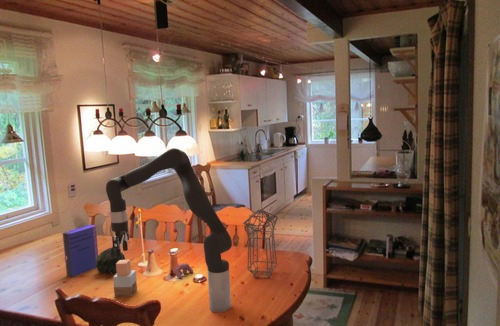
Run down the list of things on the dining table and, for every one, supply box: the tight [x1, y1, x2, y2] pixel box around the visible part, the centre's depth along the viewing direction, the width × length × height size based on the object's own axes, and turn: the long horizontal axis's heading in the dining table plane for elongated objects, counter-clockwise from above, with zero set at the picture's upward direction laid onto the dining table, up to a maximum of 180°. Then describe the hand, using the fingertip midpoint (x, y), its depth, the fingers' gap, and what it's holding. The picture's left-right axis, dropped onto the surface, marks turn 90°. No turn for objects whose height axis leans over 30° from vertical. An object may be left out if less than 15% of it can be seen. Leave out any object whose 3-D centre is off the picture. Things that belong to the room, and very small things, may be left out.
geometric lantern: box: [242, 208, 278, 279], centre depth 209 cm, size 16×16×35 cm
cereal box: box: [62, 224, 99, 278], centre depth 226 cm, size 17×5×24 cm, turn 149°
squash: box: [96, 246, 126, 275], centre depth 223 cm, size 14×15×15 cm
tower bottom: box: [113, 281, 138, 298], centre depth 196 cm, size 8×8×5 cm
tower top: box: [112, 269, 138, 288], centre depth 196 cm, size 8×8×5 cm
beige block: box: [116, 259, 132, 276], centre depth 195 cm, size 5×5×6 cm
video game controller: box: [173, 262, 194, 279], centre depth 216 cm, size 10×5×7 cm, turn 143°
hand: (122, 253), depth 194 cm, fingers open, 8 cm apart
